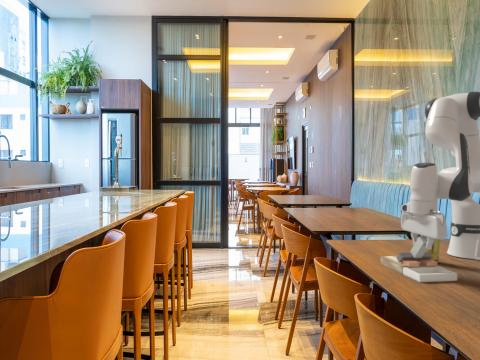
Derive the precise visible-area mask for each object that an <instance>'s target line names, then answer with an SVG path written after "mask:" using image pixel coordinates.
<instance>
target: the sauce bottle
mask: <svg viewBox="0 0 480 360" xmlns="http://www.w3.org/2000/svg"><path fill="white" fill-rule="evenodd" d="M440 247H441V239H435V240H434V242H433V244H432V249H431V250H428V249H427V250H426V252H430V254H431V255H432V258H431V260H434V261H437V262H438V263H439V260H440V250H441V248H440Z"/></svg>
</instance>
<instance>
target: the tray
mask: <svg viewBox="0 0 480 360" xmlns="http://www.w3.org/2000/svg"><path fill="white" fill-rule="evenodd" d="M402 275H403V276H405V277H407V278H409V279H411V280H414V281H416V282H418V283H431V282H432V283H433V282H455V281H457V282H458V273H457V272H455V271H452V270H449V269H447V268H444V267H441V266H439V265H437V266H430V267H403V274H402Z"/></svg>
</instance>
